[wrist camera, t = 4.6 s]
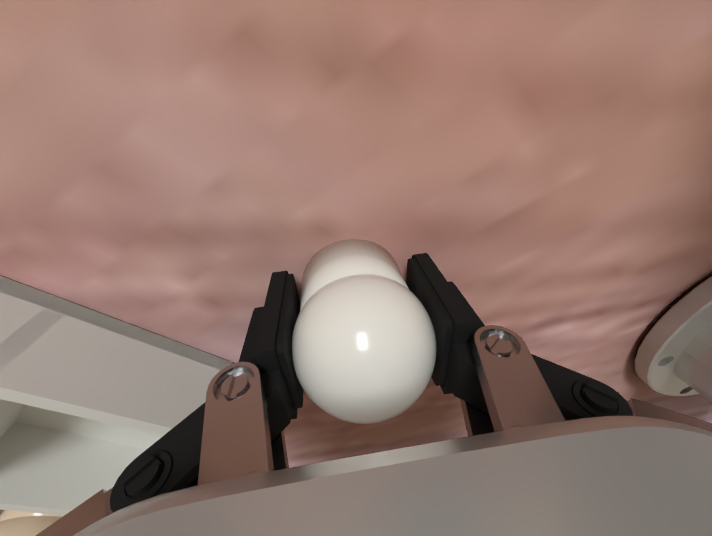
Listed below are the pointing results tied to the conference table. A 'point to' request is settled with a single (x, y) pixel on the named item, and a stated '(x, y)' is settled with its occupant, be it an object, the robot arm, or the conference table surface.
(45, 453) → the egg tray
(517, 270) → the conference table surface
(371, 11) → the conference table surface
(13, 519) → the egg in carton
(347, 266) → the loose egg
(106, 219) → the conference table surface
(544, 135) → the conference table surface
